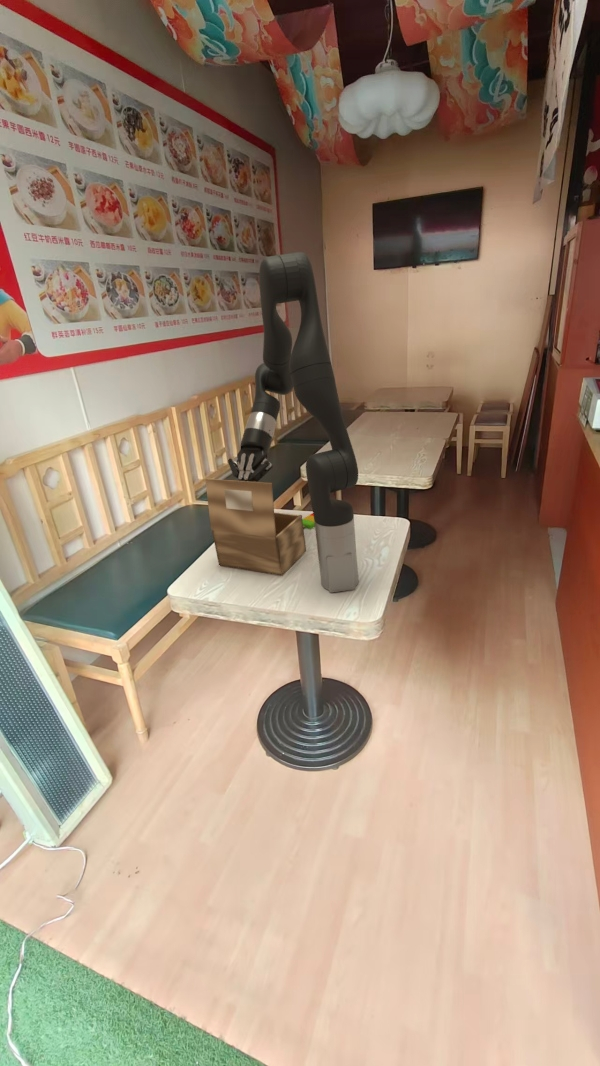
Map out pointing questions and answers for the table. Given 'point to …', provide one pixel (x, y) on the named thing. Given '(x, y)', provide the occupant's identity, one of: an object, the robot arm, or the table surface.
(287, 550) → the brown wooden box
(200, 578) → the table surface
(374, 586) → the table surface
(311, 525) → the popsicle
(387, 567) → the table surface
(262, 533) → the flap
